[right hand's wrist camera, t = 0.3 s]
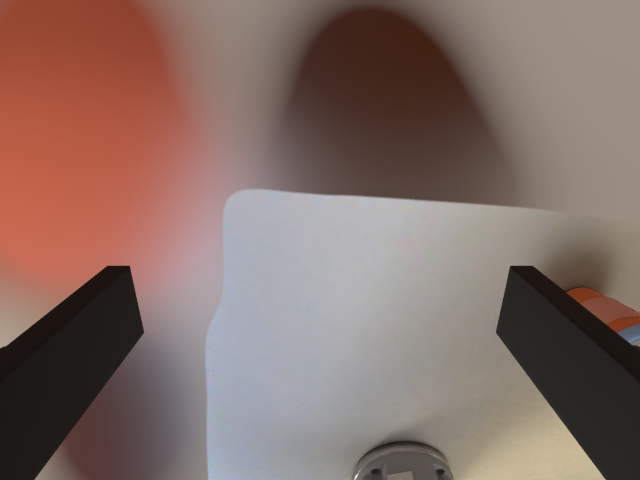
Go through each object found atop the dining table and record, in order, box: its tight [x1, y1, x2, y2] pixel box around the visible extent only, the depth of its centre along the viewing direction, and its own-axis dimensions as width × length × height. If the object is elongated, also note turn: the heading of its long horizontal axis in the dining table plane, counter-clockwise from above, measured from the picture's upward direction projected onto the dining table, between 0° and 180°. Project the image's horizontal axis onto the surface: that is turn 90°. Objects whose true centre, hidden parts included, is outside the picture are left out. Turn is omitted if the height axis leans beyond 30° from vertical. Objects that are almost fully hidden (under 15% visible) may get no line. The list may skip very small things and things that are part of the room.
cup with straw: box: [566, 287, 640, 347], centre depth 37 cm, size 9×9×18 cm
